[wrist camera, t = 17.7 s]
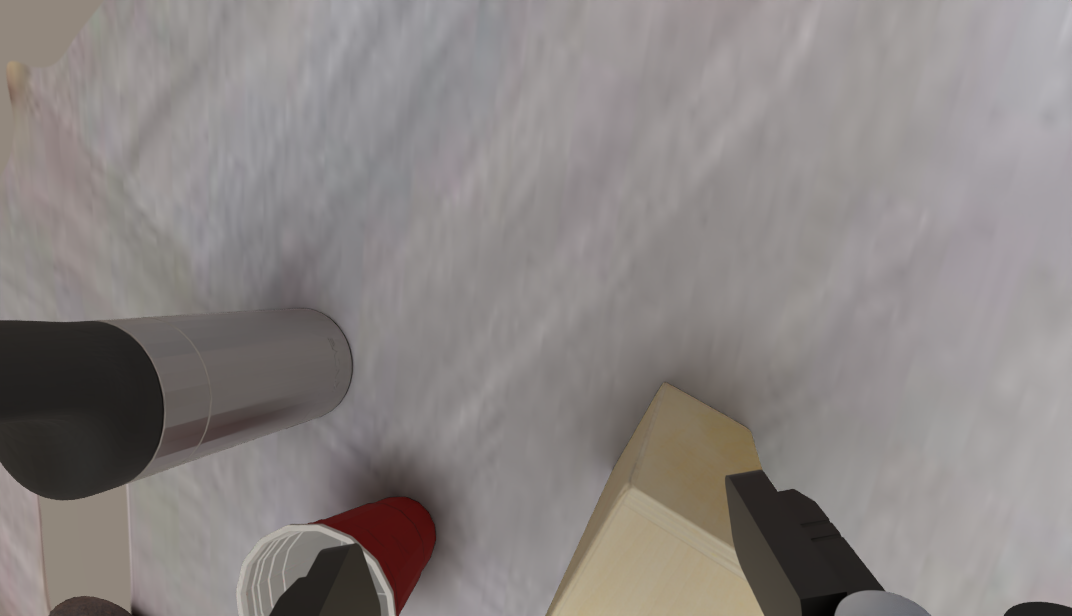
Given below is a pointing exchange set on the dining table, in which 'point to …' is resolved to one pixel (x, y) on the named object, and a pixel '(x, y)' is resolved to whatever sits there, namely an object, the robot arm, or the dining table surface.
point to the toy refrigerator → (665, 521)
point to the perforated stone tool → (88, 608)
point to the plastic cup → (379, 528)
